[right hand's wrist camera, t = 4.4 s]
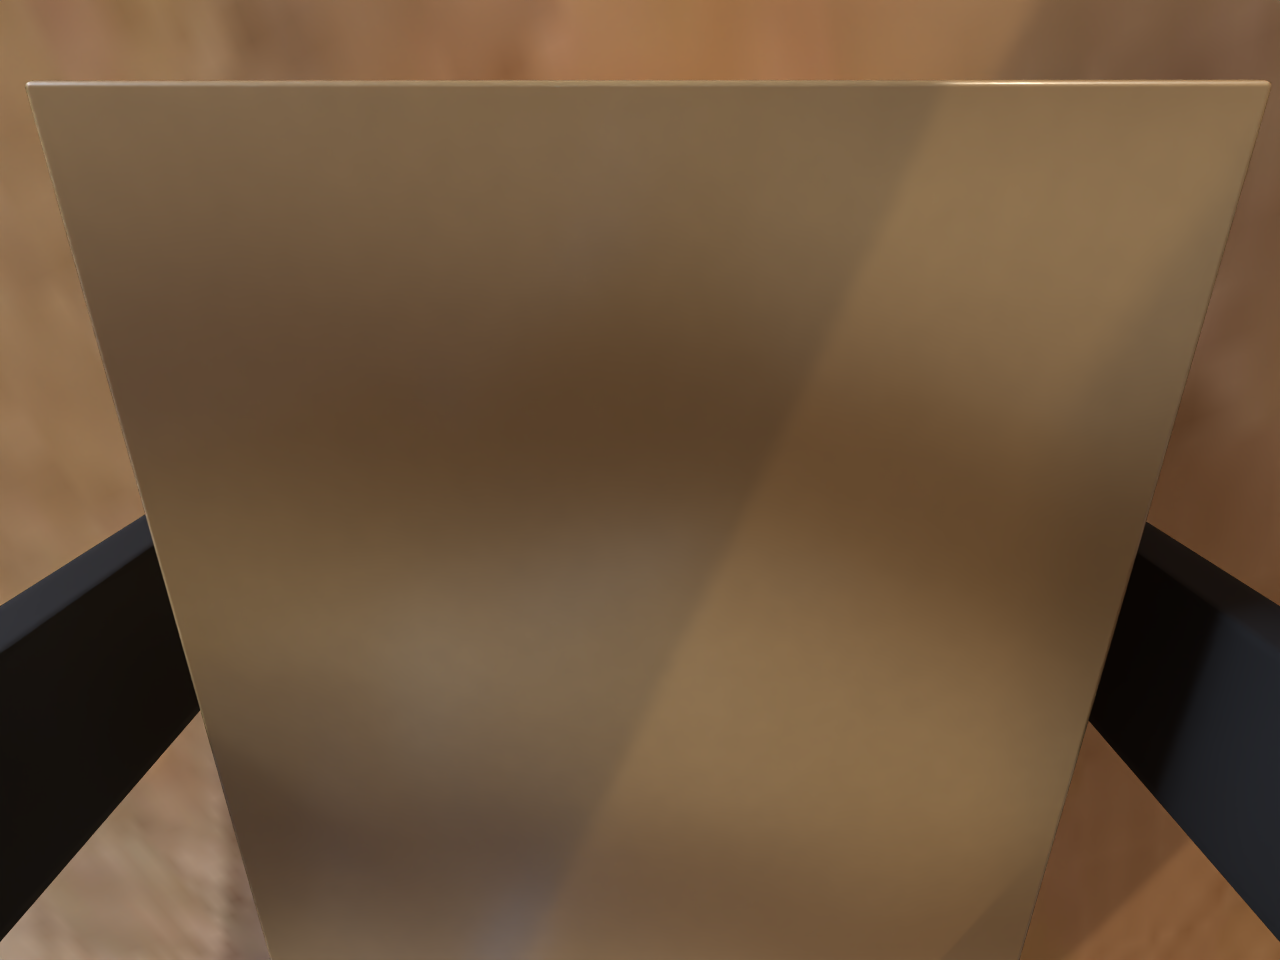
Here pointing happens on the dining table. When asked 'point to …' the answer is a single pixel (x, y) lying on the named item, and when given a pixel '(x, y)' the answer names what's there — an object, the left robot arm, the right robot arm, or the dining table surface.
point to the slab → (646, 483)
